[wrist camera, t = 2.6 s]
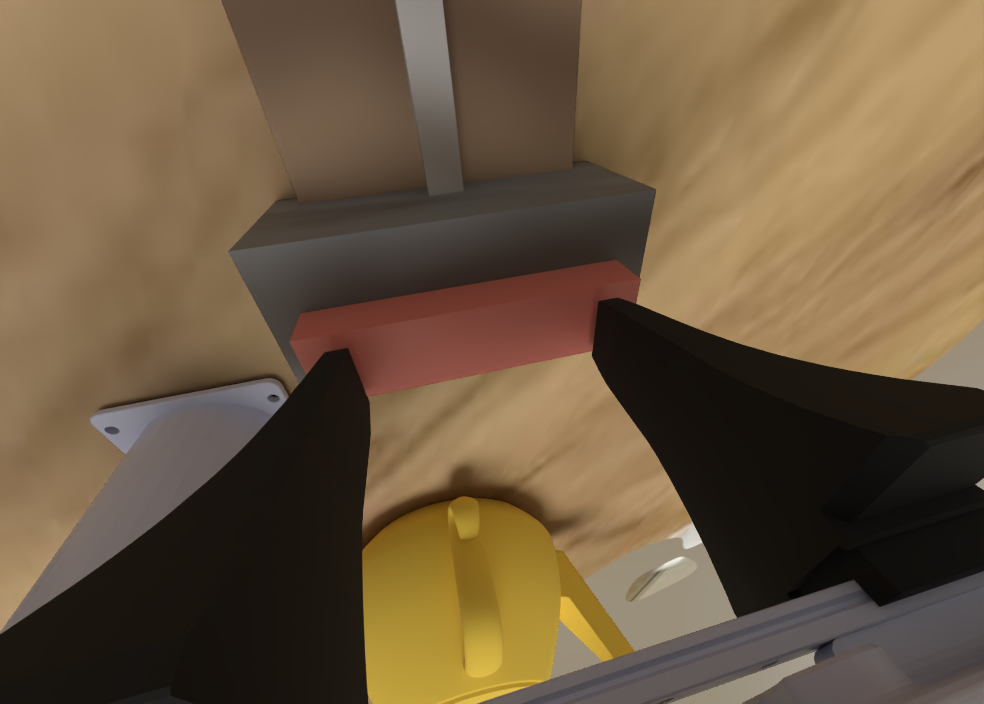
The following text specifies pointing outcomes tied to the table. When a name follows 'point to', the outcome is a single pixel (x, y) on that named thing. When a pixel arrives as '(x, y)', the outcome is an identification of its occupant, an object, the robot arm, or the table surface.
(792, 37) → the table surface
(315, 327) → the bar
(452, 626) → the teapot
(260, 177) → the table surface
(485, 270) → the rail stand
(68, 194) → the table surface
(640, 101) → the table surface
